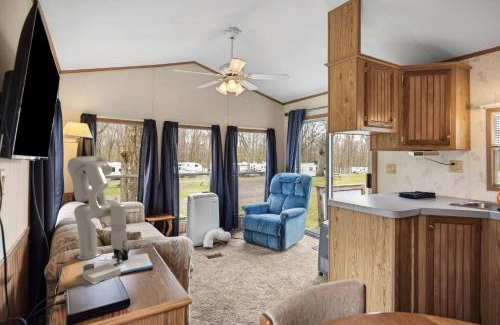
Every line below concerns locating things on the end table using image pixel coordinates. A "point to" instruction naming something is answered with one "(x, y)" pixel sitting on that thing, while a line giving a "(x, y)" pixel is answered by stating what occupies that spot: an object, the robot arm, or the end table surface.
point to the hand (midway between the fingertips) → (121, 258)
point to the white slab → (101, 273)
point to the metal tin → (88, 267)
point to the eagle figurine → (118, 256)
